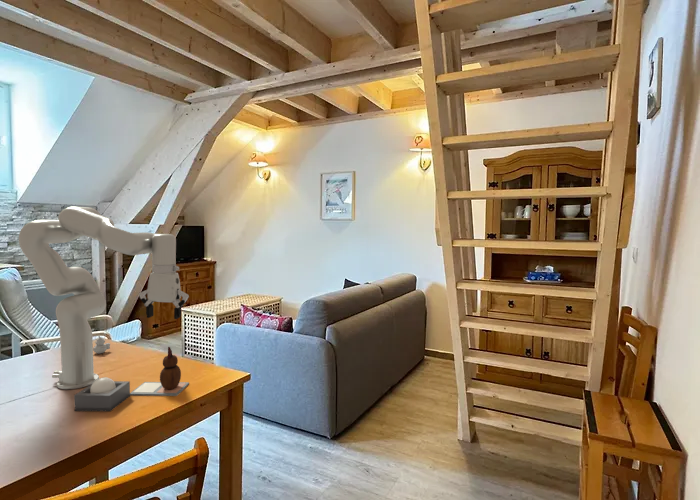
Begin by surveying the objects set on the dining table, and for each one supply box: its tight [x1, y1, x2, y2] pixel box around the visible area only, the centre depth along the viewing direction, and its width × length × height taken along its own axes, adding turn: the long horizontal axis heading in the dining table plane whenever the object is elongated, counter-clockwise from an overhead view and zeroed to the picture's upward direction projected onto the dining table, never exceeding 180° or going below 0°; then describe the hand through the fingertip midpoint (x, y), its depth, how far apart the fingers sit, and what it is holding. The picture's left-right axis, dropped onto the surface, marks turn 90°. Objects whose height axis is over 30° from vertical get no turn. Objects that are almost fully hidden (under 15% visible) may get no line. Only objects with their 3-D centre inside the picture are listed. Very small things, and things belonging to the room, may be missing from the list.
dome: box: [90, 376, 116, 393], centre depth 130 cm, size 7×7×7 cm
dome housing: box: [73, 380, 131, 412], centre depth 130 cm, size 11×11×5 cm
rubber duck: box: [93, 335, 111, 355], centre depth 179 cm, size 5×7×8 cm
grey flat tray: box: [130, 381, 190, 397], centre depth 141 cm, size 16×10×1 cm, turn 89°
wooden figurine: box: [159, 346, 182, 390], centre depth 141 cm, size 7×6×15 cm
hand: (163, 317), depth 143 cm, fingers open, 9 cm apart
